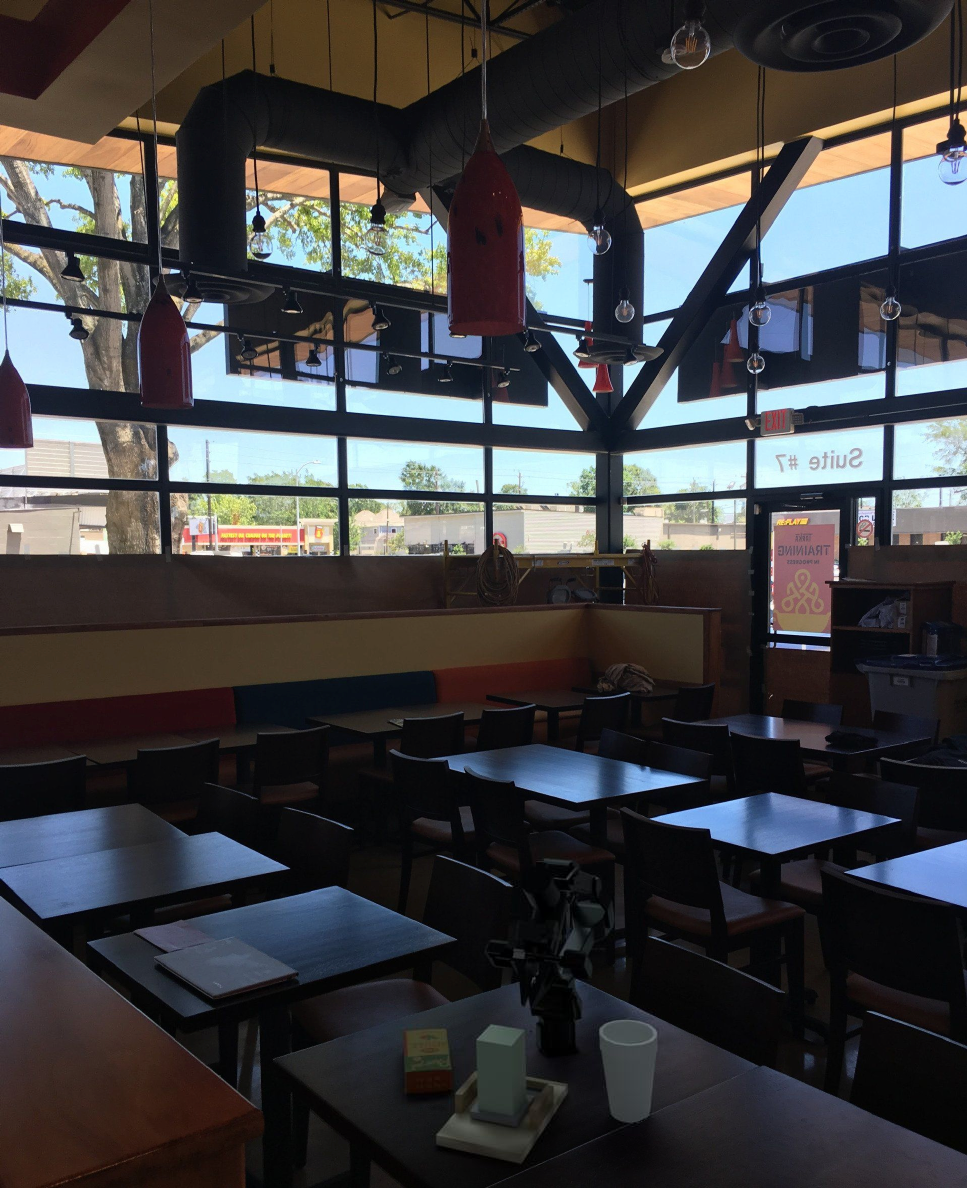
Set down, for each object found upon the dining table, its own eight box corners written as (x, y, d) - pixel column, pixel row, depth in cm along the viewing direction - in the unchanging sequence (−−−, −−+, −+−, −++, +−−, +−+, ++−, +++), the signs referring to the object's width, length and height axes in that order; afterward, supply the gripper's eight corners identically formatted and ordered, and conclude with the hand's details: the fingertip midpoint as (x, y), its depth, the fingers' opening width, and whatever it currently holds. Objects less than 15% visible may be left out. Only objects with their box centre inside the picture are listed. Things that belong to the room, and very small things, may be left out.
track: (491, 1078, 169) (491, 1052, 169) (567, 1092, 163) (567, 1066, 163) (436, 1144, 149) (435, 1115, 149) (521, 1163, 143) (520, 1133, 143)
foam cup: (663, 1102, 160) (661, 1023, 160) (654, 1131, 151) (652, 1048, 151) (607, 1094, 163) (605, 1016, 163) (595, 1122, 154) (593, 1040, 154)
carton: (447, 1049, 181) (447, 1026, 181) (453, 1093, 165) (453, 1067, 165) (403, 1052, 180) (402, 1029, 180) (404, 1096, 164) (404, 1070, 164)
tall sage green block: (489, 1093, 160) (487, 1020, 160) (534, 1101, 157) (532, 1028, 157) (469, 1117, 153) (468, 1041, 153) (516, 1126, 150) (514, 1049, 150)
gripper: (487, 894, 175) (463, 978, 165) (586, 905, 168) (567, 993, 157) (504, 924, 182) (482, 1006, 172) (600, 936, 175) (583, 1022, 165)
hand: (527, 1006), depth 166 cm, fingers closed
